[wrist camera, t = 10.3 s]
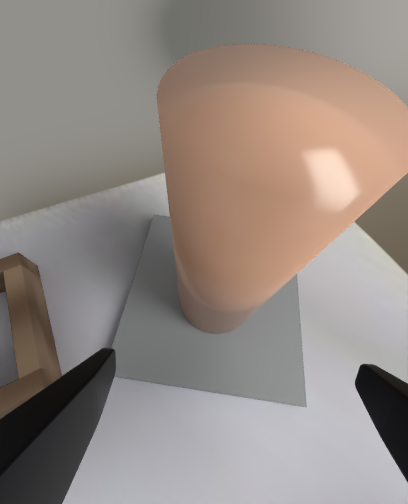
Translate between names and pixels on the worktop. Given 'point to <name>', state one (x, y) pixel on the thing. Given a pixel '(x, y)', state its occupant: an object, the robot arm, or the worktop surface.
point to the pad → (207, 336)
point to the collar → (27, 332)
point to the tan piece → (268, 168)
